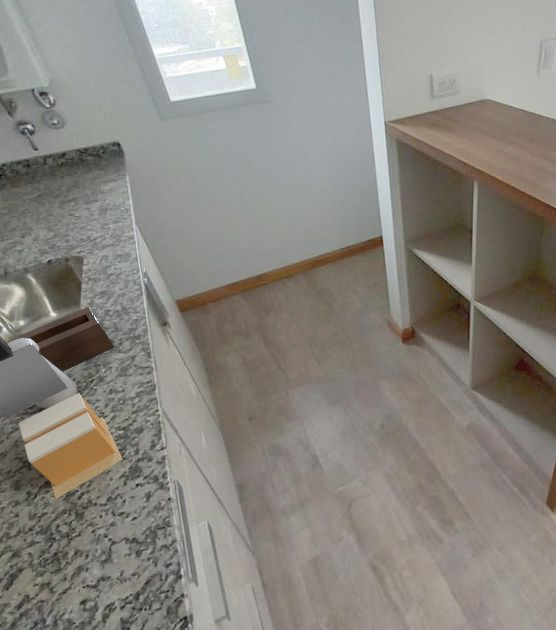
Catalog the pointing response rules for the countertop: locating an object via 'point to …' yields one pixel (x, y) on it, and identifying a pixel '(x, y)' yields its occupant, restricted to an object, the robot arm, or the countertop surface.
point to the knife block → (71, 339)
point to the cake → (59, 417)
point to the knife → (25, 380)
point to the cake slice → (69, 449)
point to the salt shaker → (68, 382)
